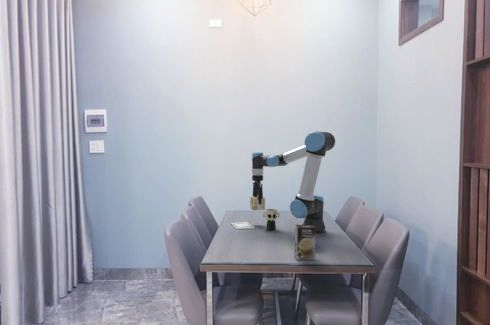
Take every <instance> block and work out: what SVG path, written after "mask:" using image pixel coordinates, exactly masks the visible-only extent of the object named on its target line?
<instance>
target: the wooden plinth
mask: <svg viewBox="0 0 490 325" xmlns="http://www.w3.org/2000/svg"><path fill="white" fill-rule="evenodd" d="M249 199H250V200H249V201H250V203H249V205H250V207H249V208H250V210H252V211H264V210H265V211H266V197H264V196H263V199H262V209H258V200H257V199H258V197H253V196H250V198H249Z"/></svg>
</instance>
